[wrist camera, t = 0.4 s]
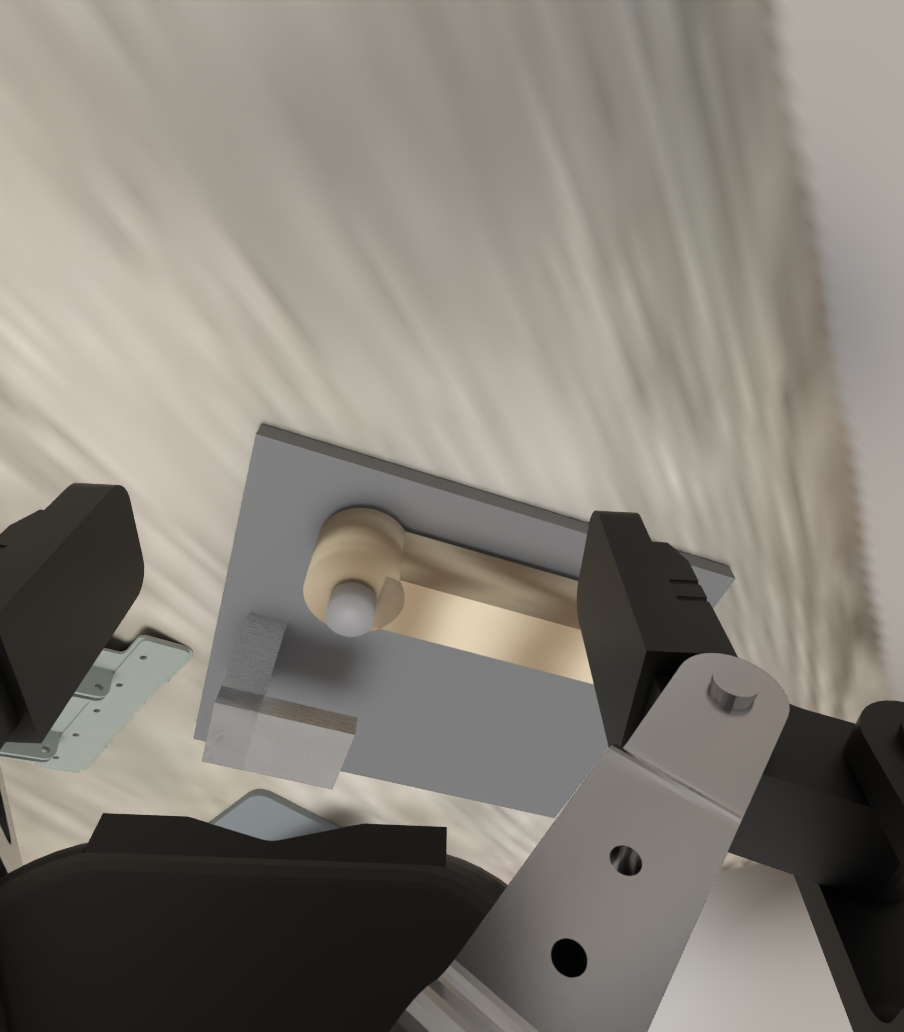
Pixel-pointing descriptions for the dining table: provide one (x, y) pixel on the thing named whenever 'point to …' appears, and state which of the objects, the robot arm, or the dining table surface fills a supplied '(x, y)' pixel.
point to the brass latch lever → (450, 594)
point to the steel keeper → (272, 718)
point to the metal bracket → (103, 704)
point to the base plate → (403, 659)
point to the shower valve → (270, 817)
